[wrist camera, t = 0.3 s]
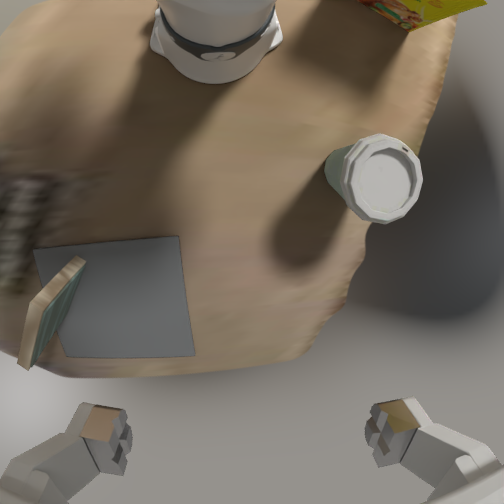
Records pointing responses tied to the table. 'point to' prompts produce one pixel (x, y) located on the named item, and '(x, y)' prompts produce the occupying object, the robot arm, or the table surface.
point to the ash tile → (48, 311)
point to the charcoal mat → (123, 299)
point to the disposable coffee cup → (376, 177)
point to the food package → (419, 10)
